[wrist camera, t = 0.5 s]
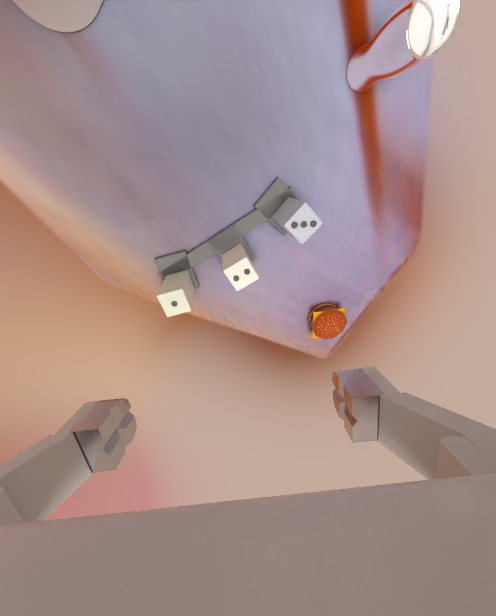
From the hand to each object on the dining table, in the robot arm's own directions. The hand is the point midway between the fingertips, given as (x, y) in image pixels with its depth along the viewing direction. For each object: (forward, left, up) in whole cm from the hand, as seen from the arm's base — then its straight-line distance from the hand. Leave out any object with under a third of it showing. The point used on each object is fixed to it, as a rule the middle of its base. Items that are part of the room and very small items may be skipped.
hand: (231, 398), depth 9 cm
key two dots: (+8, +5, -45) cm, 46 cm away
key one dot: (+15, -7, -45) cm, 48 cm away
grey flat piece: (+5, +3, -46) cm, 47 cm away
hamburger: (+23, +32, -47) cm, 61 cm away
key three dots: (-2, +15, -45) cm, 47 cm away
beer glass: (-27, +23, -47) cm, 59 cm away
